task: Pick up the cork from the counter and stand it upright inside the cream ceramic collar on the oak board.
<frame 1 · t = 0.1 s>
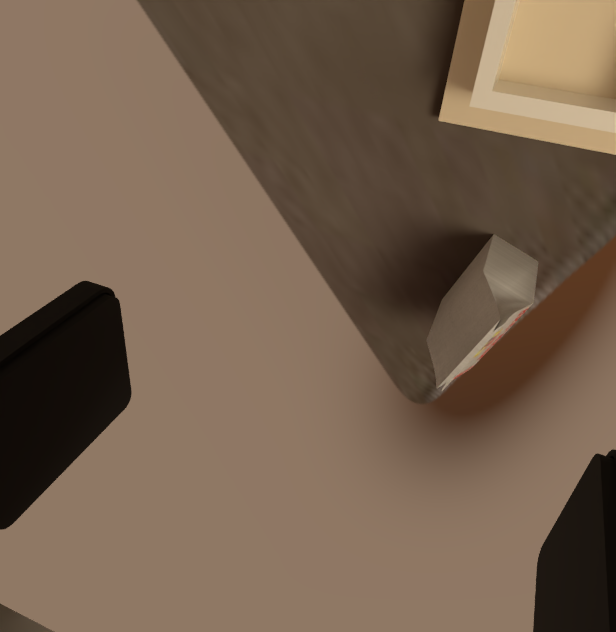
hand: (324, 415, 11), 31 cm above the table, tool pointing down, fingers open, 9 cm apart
white carton: (487, 280, 42), on the table
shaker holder: (593, 12, 31), on the table
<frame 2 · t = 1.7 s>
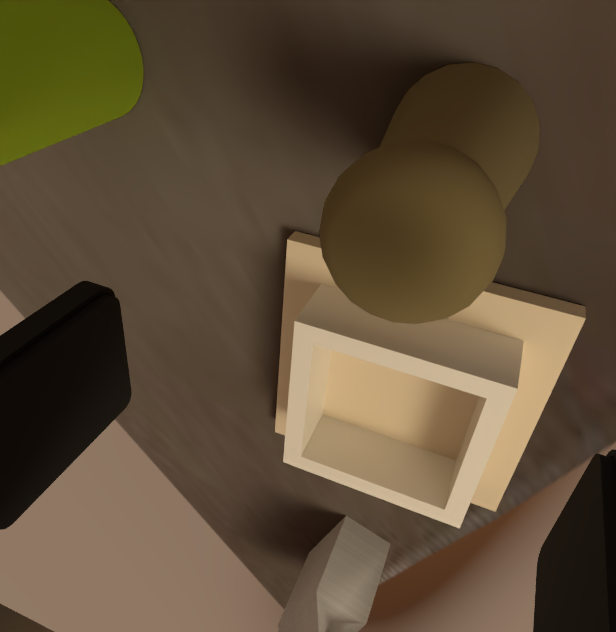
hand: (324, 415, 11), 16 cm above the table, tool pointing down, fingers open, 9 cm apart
cork: (461, 140, 23), on the table
soap dispenser: (97, 46, 27), on the table
white carton: (348, 546, 42), on the table
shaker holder: (403, 374, 31), on the table
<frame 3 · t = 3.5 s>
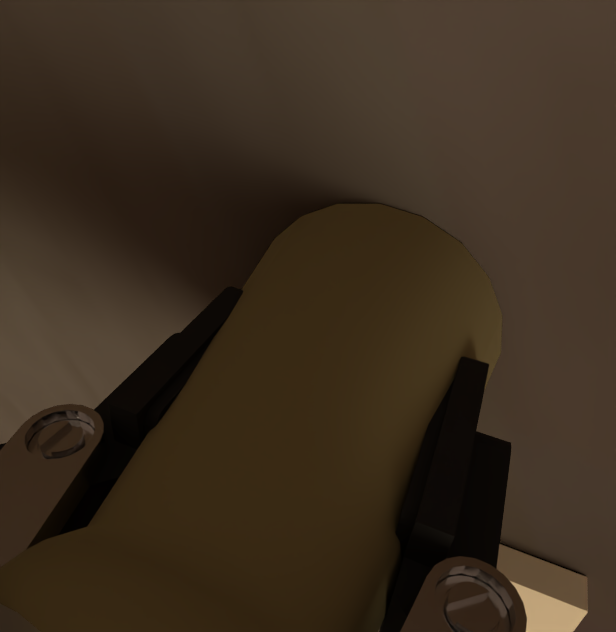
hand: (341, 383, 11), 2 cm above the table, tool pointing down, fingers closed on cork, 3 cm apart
cork: (372, 318, 13), on the table, touching gripper
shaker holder: (318, 603, 21), on the table
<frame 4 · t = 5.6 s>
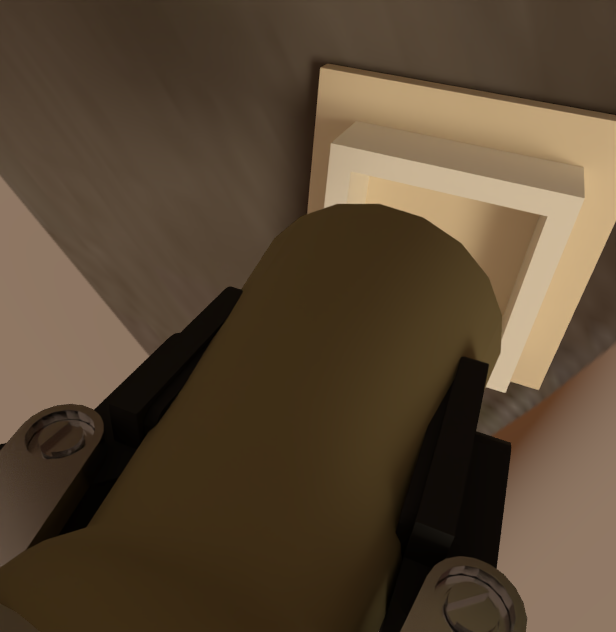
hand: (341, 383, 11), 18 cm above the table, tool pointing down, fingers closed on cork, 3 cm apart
cork: (372, 319, 13), point 15 cm above the table, touching gripper
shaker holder: (442, 234, 28), on the table
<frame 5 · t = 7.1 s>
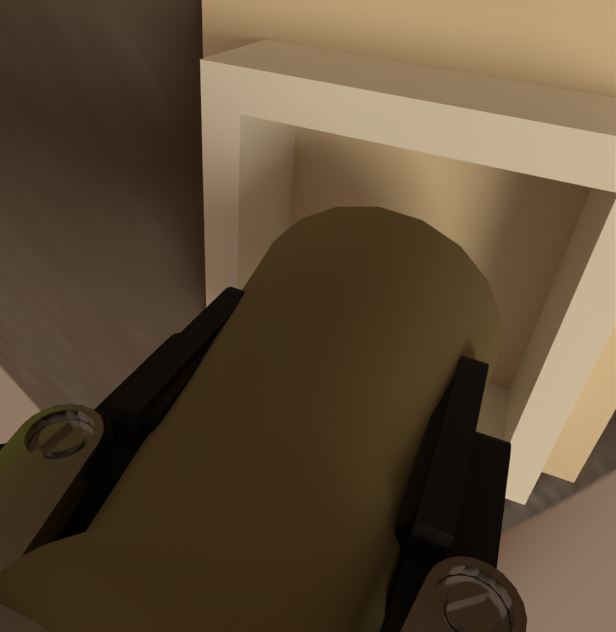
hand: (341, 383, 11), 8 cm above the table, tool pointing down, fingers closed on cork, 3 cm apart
cork: (371, 321, 13), point 5 cm above the table, touching gripper
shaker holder: (419, 235, 17), on the table
when the fingers open (5 cm above the table, at t = 8.0 s): cork drops 1 cm, resting on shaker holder.
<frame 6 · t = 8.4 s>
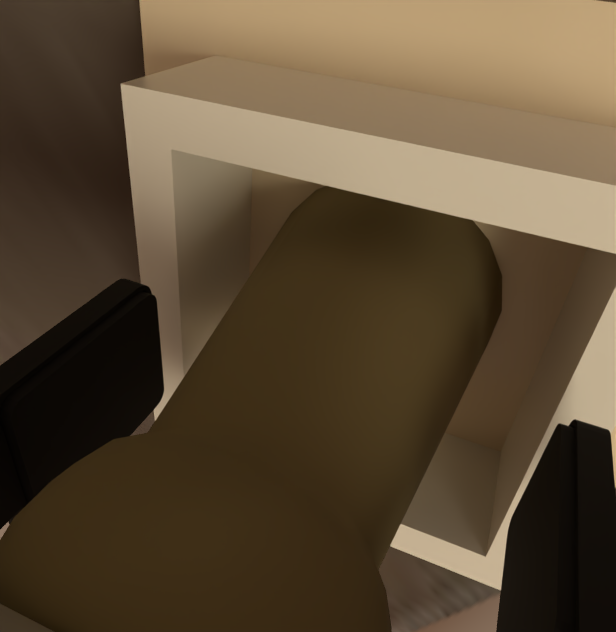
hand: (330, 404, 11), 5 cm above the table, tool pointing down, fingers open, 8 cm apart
cork: (382, 285, 15), point 1 cm above the table, touching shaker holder
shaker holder: (397, 277, 15), on the table
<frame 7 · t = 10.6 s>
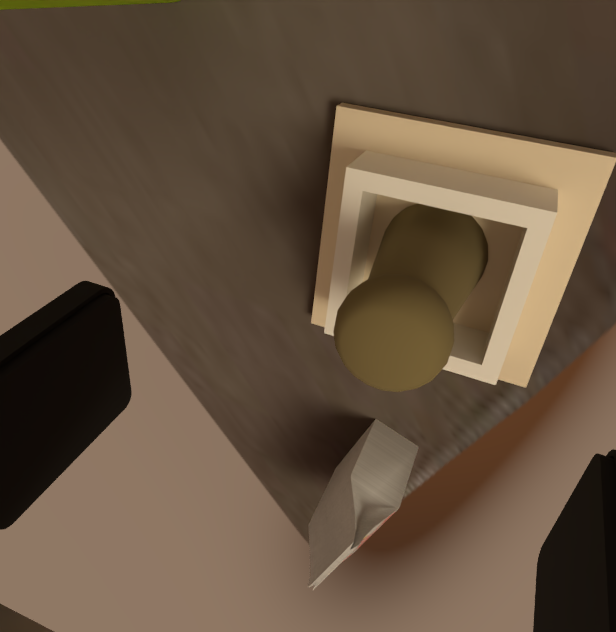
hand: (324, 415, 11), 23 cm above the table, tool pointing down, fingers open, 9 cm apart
cork: (434, 251, 32), point 1 cm above the table, touching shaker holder
white carton: (375, 456, 43), on the table
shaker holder: (440, 248, 32), on the table
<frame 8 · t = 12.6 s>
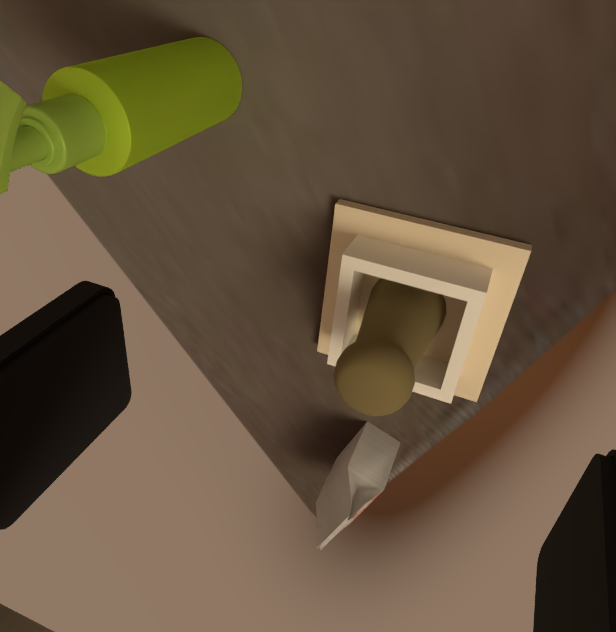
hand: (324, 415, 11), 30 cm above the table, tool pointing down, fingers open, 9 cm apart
cork: (407, 304, 43), point 1 cm above the table, touching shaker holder
soap dispenser: (210, 74, 41), on the table
white carton: (367, 449, 55), on the table
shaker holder: (412, 301, 44), on the table
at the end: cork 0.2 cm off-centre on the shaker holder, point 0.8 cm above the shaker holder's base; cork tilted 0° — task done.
